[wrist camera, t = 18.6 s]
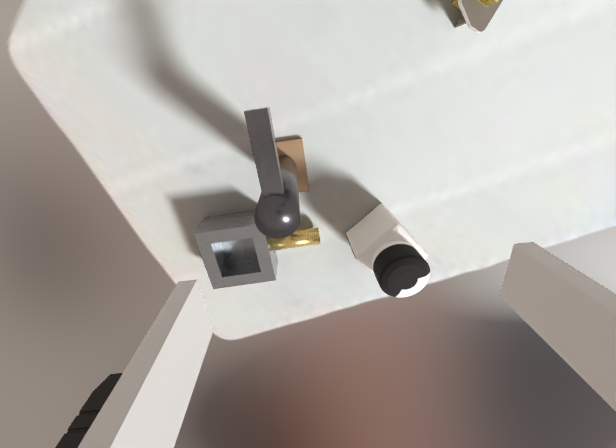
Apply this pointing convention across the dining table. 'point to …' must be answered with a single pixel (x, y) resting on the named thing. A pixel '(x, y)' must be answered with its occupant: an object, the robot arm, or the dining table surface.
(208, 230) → the block
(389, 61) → the dining table surface
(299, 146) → the copper plate
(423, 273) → the medicine bottle
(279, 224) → the chuck key
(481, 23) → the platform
